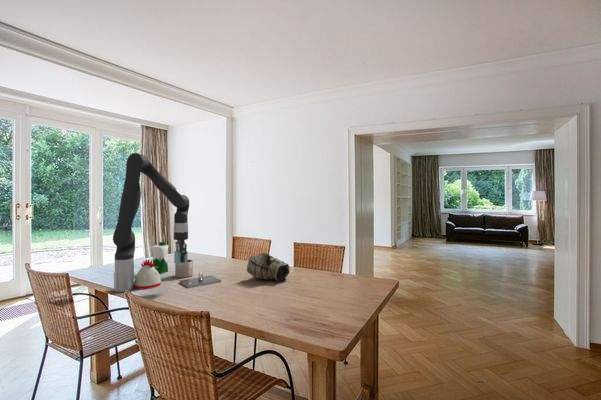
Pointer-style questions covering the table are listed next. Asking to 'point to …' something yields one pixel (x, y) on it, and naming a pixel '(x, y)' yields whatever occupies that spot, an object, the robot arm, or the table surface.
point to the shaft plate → (199, 281)
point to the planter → (184, 269)
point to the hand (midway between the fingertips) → (180, 261)
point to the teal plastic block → (177, 258)
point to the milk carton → (160, 257)
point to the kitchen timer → (147, 276)
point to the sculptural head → (267, 267)
